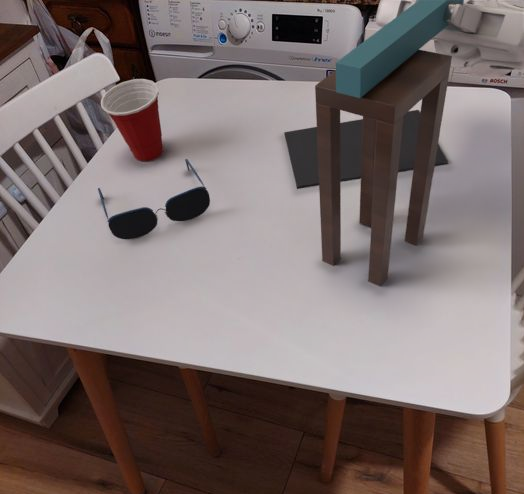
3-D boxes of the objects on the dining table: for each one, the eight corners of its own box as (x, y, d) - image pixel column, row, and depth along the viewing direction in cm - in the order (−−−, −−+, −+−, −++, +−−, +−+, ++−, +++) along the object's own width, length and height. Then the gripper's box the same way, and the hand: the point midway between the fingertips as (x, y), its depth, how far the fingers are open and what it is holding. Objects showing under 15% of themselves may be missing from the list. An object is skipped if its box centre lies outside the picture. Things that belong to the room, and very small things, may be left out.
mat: (418, 111, 98) (418, 109, 98) (447, 163, 87) (448, 161, 87) (284, 134, 99) (284, 132, 99) (297, 188, 88) (296, 186, 88)
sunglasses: (117, 245, 85) (105, 219, 81) (105, 207, 95) (94, 182, 92) (214, 211, 87) (206, 185, 84) (192, 178, 97) (185, 153, 94)
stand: (366, 216, 82) (374, 40, 61) (423, 238, 77) (452, 55, 57) (322, 260, 77) (314, 85, 56) (380, 286, 72) (395, 106, 52)
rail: (438, 10, 63) (442, -18, 60) (461, 14, 61) (466, -15, 59) (335, 92, 54) (335, 62, 52) (360, 98, 53) (360, 68, 50)
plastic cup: (111, 166, 100) (87, 106, 91) (139, 136, 106) (119, 76, 96) (158, 173, 96) (138, 111, 87) (185, 141, 102) (168, 80, 93)
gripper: (408, -5, 72) (363, -33, 62) (558, 15, 63) (534, -14, 52) (394, 46, 75) (348, 27, 65) (535, 73, 66) (508, 56, 55)
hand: (433, 9), depth 59 cm, fingers closed on rail, 3 cm apart
